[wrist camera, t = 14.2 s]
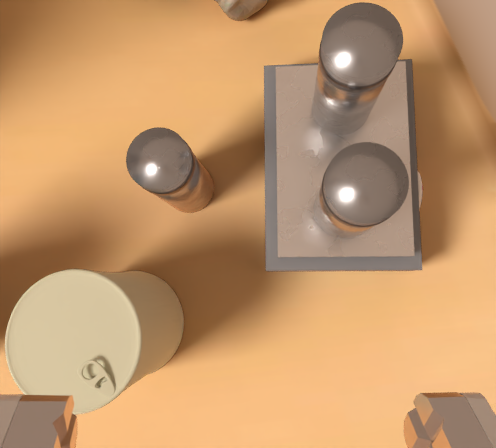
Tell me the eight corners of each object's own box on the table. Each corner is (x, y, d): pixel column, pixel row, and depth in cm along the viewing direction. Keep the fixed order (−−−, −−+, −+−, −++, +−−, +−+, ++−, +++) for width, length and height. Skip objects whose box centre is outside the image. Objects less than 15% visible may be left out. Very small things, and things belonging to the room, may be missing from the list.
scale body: (267, 271, 40) (265, 270, 36) (266, 85, 42) (264, 65, 38) (414, 270, 39) (429, 270, 35) (405, 80, 41) (418, 58, 37)
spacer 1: (163, 211, 41) (122, 188, 31) (168, 163, 42) (128, 125, 32) (212, 214, 41) (186, 191, 31) (216, 165, 41) (191, 127, 31)
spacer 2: (312, 136, 35) (321, 80, 25) (311, 80, 35) (320, 3, 25) (371, 134, 34) (405, 76, 25) (369, 78, 35) (402, -1, 25)
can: (126, 398, 39) (56, 450, 28) (63, 317, 41) (-30, 333, 29) (205, 328, 40) (170, 350, 28) (139, 249, 41) (79, 238, 29)
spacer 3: (314, 240, 34) (325, 225, 24) (312, 181, 34) (322, 142, 25) (375, 239, 34) (412, 223, 24) (372, 179, 34) (407, 139, 24)
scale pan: (278, 257, 35) (277, 256, 34) (276, 72, 37) (275, 66, 36) (410, 256, 34) (414, 255, 33) (402, 67, 36) (405, 61, 35)
